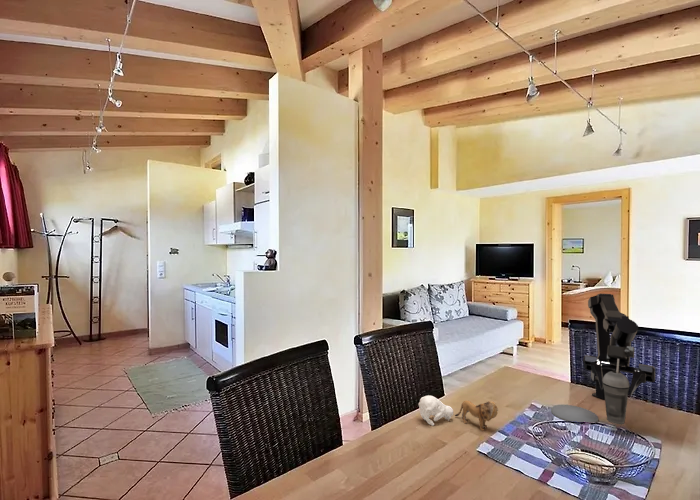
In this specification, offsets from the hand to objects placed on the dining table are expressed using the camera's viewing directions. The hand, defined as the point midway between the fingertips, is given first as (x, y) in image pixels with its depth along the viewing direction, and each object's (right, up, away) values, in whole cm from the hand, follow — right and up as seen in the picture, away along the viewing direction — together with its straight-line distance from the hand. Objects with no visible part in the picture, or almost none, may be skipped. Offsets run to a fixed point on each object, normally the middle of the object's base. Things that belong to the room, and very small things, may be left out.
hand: (615, 392), depth 118 cm
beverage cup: (+1, -10, +1) cm, 10 cm away
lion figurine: (-41, -13, +6) cm, 44 cm away
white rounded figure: (-54, -13, +8) cm, 56 cm away
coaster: (-5, -13, +13) cm, 19 cm away
